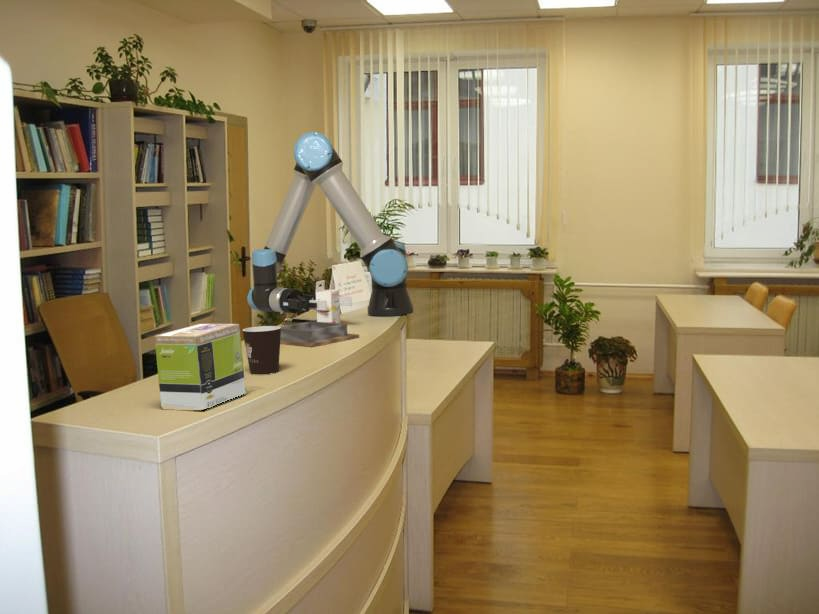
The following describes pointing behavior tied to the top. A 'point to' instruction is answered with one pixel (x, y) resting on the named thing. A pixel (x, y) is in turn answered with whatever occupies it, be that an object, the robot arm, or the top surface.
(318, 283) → the ink cartridge box
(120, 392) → the top surface
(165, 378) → the tea box
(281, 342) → the cartridge holder
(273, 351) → the coffee mug
